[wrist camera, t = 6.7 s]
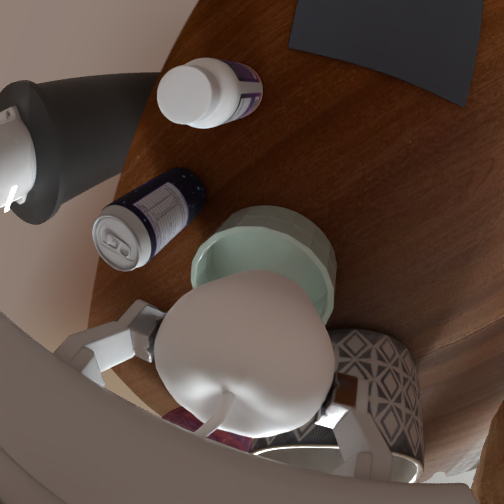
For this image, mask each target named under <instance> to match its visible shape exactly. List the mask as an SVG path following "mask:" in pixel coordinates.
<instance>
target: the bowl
mask: <svg viewBox="0 0 504 504" xmlns="http://www.w3.org/2000/svg"><path fill="white" fill-rule="evenodd" d="M471 491H472V493H473V494H474V496H475V498H476V500H477V502H478V504H504V401H503V402H502V404H501V405H500V407H499V409H498V411H497V413H496V414H495V415H494V417H493V419H492V421H491V425H490V429H489V434H488V436H487V438H486V441H485V443H484V446H483V449H482V452H481V456H480V463H479V465H478V468H477V470H476V474H475V476H474V481H473V483H472V487H471Z"/></svg>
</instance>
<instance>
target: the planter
mask: <svg viewBox="0 0 504 504" xmlns="http://www.w3.org/2000/svg"><path fill="white" fill-rule="evenodd" d="M327 332H328V335H329V337H330V340H331V344H332V347H333V351H334V357H335V367H334V372H335V371H336V372H340V373H344V374H348V375H352V376H355V377H358V378H362V379H366V380H368V381H369V393H368V410H367V413H370V414H371V416H372V418H373V419H374V421H375V423H376V425H377V427H378V429H379V431H380V433H381V434H382V436H383V438H384V440H385V442H386V444H387V446H388V448H389V450H390V451H391V453H392V455H393V456H392V469H391V479H390V482H404V483H415V482H416V481H417V480H419V479H420V477H421V476H422V475H423V472H424V443H423V424H422V410H421V399H420V389H419V380H418V372H417V366H416V362H415V359H414V357H413V355H412V354H411V352H410V351H409V350H408V349H407V348H406V347H405V346H404V345H403V344H402V343H401V342H399V341H398V340H396V339H394V338H392V337H390V336H388V335H385V334H382V333H379V332H376V331H371V330H365V329H336V330H329V331H327ZM316 414H317V412H316V413H315V415H314V416H313V417H312V418H311V419H310V420H309V421H308V422H307V423H305V424H304V425H303V426H300V427H298V428H296V429H294V430H291V431H289V432H284V433H280V434H277V435H273V436H269V437H261V438H254V439H253V441H252V444H251V446H250V449H249V451H248V453H251V454H255V455H258V456H261V457H265V458H268V459H271V460H275V461H279V462H282V463H286V464H290V465H294V466H298V467H302V468H307V469H311V470H316V471H321V472H326V473H331V474H332V470H333V469H335V468H337V467H338V466H340V465H341V464H343V463H344V460H343V457H342V455H341V452H340V449H339V446H338V443H337V440H336V437H335V435H334V432H333V428H330V427H326V426H323V425H319V424H315V419H316Z"/></svg>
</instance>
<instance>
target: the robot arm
mask: <svg viewBox="0 0 504 504" xmlns="http://www.w3.org/2000/svg"><path fill="white" fill-rule="evenodd" d="M35 178H36V155H35V149H34V145H33V141H32V138H31V135H30V133H29V131H28V129H27V127H26V125H25V124H24V123H23V121H22V120H21V117H20V114H19V111H18V108H17V107H16V106H12V107H10V108H8V109H6V110H4V111H2V112H0V208H1V207H3V206H5V205H6V207H5V210H4V212H6V211H8V210H9V207H10V204H11V202H13V201H16V202H17V203H18V204H22V203H24V202H25V200H26V196H27V193H28V192H29V191H30V190H31V189H32V187H33V185H34V182H35ZM167 313H168V312H166V311H164V310H161V309H159V308H157V307H155V306H153V305H151V304H149V303H146V302H144V301H142V300H140V299H138V300H136V301H135V302H134V303H133V304H132V305H131V306H130V307H129V309H128V310H127V311H126V312H125V313H124V314H123V315H122V316H121V318H120V319H119V320H118V321H117V322H115V321H112V322H109V323H106V324H103V325H100V326H97V327H93V328H90V329H87V330H85V331H81V332H78V333H75V334H72V335H69V336H68V338H66V340H65V341H64V342H63V343H62V344H61V345H60V346H59V347H58V348H57V349H56V350H55V352H54V353H51V352H50V351H49V350H47V349H46V348H44V347H43V346H42V345H41V344H39V343H38V342H37V341H35V340H34V339H33V338H32V337H30V336H29V335H28V334H27V333H25V332H24V331H23V330H22V329H20V328H19V327H18V326H17V325H16V324H14V323H13V322H12V321H11V320H10V319H9V318H7V317H6V316H5V315H4V314H3V313H2V312H1V311H0V504H478V502H477V500H476V498H475V496H474V494H473V493H472V491H471V490H470V488H469V487H468V485H466V484H464V483H445V484H443V483H442V484H441V483H440V484H434V483H433V484H432V483H428V484H427V483H404V482H390V479H391V469H392V456H393V455H392V453H391V451H390V450H389V448H388V446H387V444H386V442H385V440H384V438H383V436H382V434H381V433H380V431H379V429H378V427H377V425H376V423H375V421H374V419H373V418H372V416H371V414H370V413H367V410H368V393H369V381H368V380H366V379H362V378H358V377H355V376H352V375H348V374H344V373H340V372H336V371H335V372H334V377H333V381H332V384H331V387H330V390H329V392H328V395H327V397H326V399H325V401H324V403H323V404H322V406H321V407H320V409H319V410H318V411H317V414H316V419H315V424H319V425H323V426H326V427H330V428H333V432H334V435H335V437H336V440H337V443H338V446H339V449H340V452H341V455H342V457H343V460H344V463H343V464H341V465H340V466H338V467H337V468H335V469H333V470H332V474H331V473H326V472H321V471H316V470H311V469H307V468H302V467H298V466H294V465H290V464H286V463H282V462H279V461H275V460H271V459H268V458H265V457H261V456H258V455H255V454H251V453H248V452H245V451H242V450H239V449H236V448H233V447H231V446H228V445H225V444H222V443H219V442H217V441H214V440H212V439H209V438H206V437H204V436H201V435H199V434H196V433H194V432H192V431H189V430H187V429H185V428H182V427H180V426H178V425H176V424H173V423H171V422H169V421H167V420H165V419H163V418H160V417H158V416H156V415H154V414H152V413H150V412H148V411H146V410H144V409H142V408H140V407H138V406H136V405H135V404H133V403H131V402H129V401H127V400H125V399H123V398H122V397H120V396H118V395H116V394H115V393H113V392H111V391H109V390H108V389H106V388H104V385H105V382H104V379H103V376H102V374H101V372H103V371H105V370H107V369H109V368H111V367H113V366H115V365H117V364H119V363H121V362H123V361H125V360H127V359H129V358H131V357H133V356H134V355H135V356H137V357H139V358H141V359H143V360H145V361H148V362H150V363H151V362H152V360H153V359H154V342H155V338H156V334H157V332H158V330H159V328H160V325H161V323H162V321H163V319H164V317H165V315H166V314H167Z"/></svg>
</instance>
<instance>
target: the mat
mask: <svg viewBox="0 0 504 504" xmlns="http://www.w3.org/2000/svg"><path fill="white" fill-rule="evenodd" d="M482 11H483V0H298V3H297V7H296V12H295V17H294V21H293V26H292V31H291V35H290V40H289V45H288V48H290V49H296V50H301V51H305V52H310V53H314V54H319V55H323V56H327V57H331V58H335V59H339V60H342V61H346V62H349V63H353V64H356V65H359V66H363V67H366V68H369V69H372V70H375V71H378V72H381V73H384V74H387V75H389V76H392V77H395V78H398V79H400V80H403V81H405V82H408V83H411V84H413V85H415V86H418V87H420V88H423V89H425V90H427V91H429V92H432V93H434V94H436V95H438V96H441V97H443V98H445V99H447V100H449V101H451V102H453V103H455V104H457V105H459V106H461V107H465V104H466V100H467V96H468V92H469V88H470V84H471V79H472V75H473V70H474V65H475V60H476V54H477V48H478V42H479V35H480V28H481V20H482Z"/></svg>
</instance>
